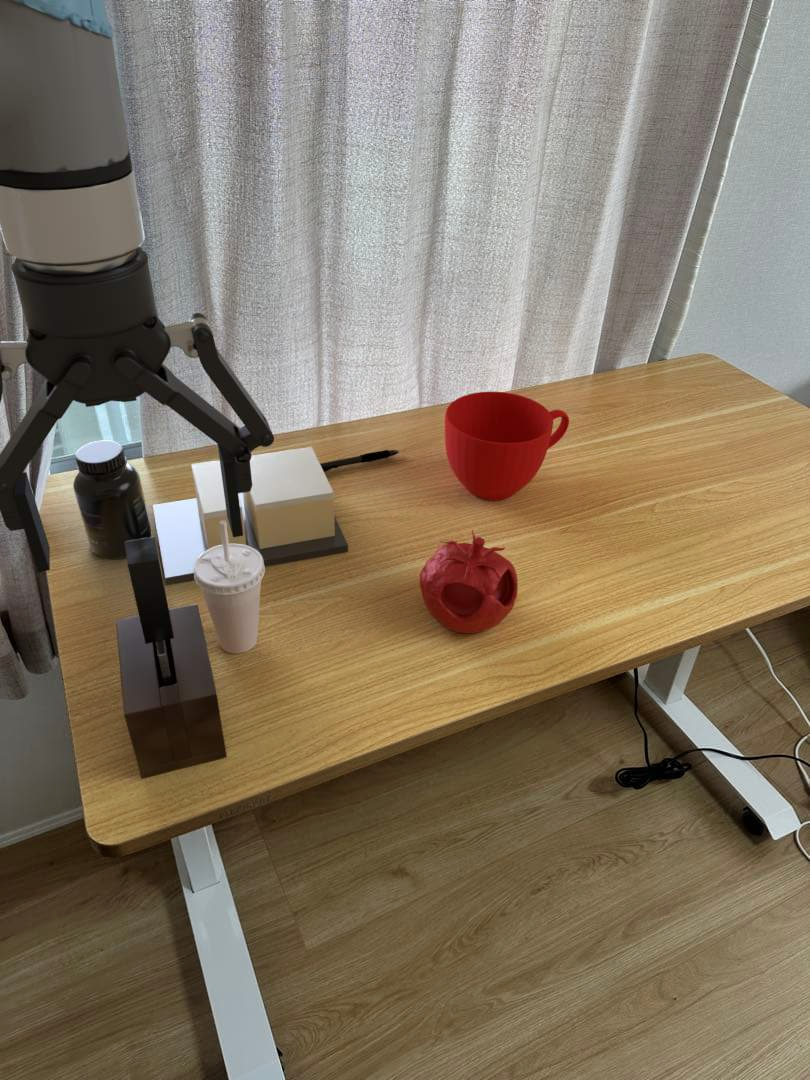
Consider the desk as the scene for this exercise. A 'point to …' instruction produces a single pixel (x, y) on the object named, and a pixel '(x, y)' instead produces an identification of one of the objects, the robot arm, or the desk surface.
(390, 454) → the pen
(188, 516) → the cake board
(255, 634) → the smoothie
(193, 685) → the knife block
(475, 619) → the pomegranate
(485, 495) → the ceramic cup
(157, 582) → the knife
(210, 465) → the cream rectangular block
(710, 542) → the desk surface
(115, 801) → the desk surface
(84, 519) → the supplement bottle
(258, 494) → the cake
